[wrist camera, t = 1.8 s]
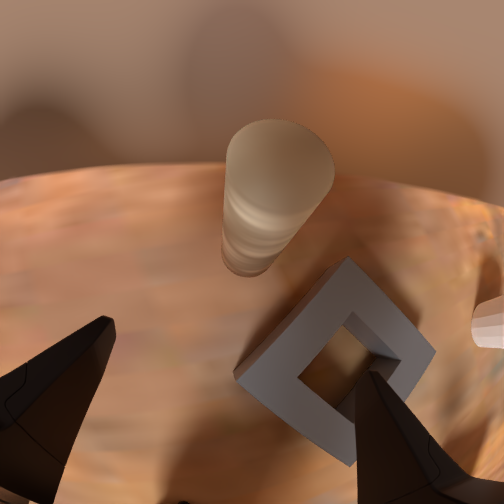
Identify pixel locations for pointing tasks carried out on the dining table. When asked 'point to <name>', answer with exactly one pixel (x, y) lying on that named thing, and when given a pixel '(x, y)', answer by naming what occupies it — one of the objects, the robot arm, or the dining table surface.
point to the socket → (312, 342)
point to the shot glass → (489, 323)
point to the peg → (270, 191)
